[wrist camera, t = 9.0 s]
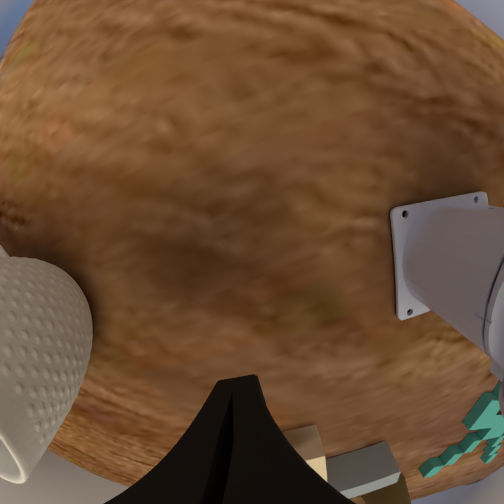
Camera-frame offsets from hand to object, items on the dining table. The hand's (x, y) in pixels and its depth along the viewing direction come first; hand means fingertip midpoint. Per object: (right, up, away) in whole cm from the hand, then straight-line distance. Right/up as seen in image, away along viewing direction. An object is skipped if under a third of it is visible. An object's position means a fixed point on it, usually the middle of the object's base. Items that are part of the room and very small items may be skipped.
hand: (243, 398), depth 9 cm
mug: (-15, +2, +9) cm, 18 cm away
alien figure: (+35, -17, +15) cm, 42 cm away
